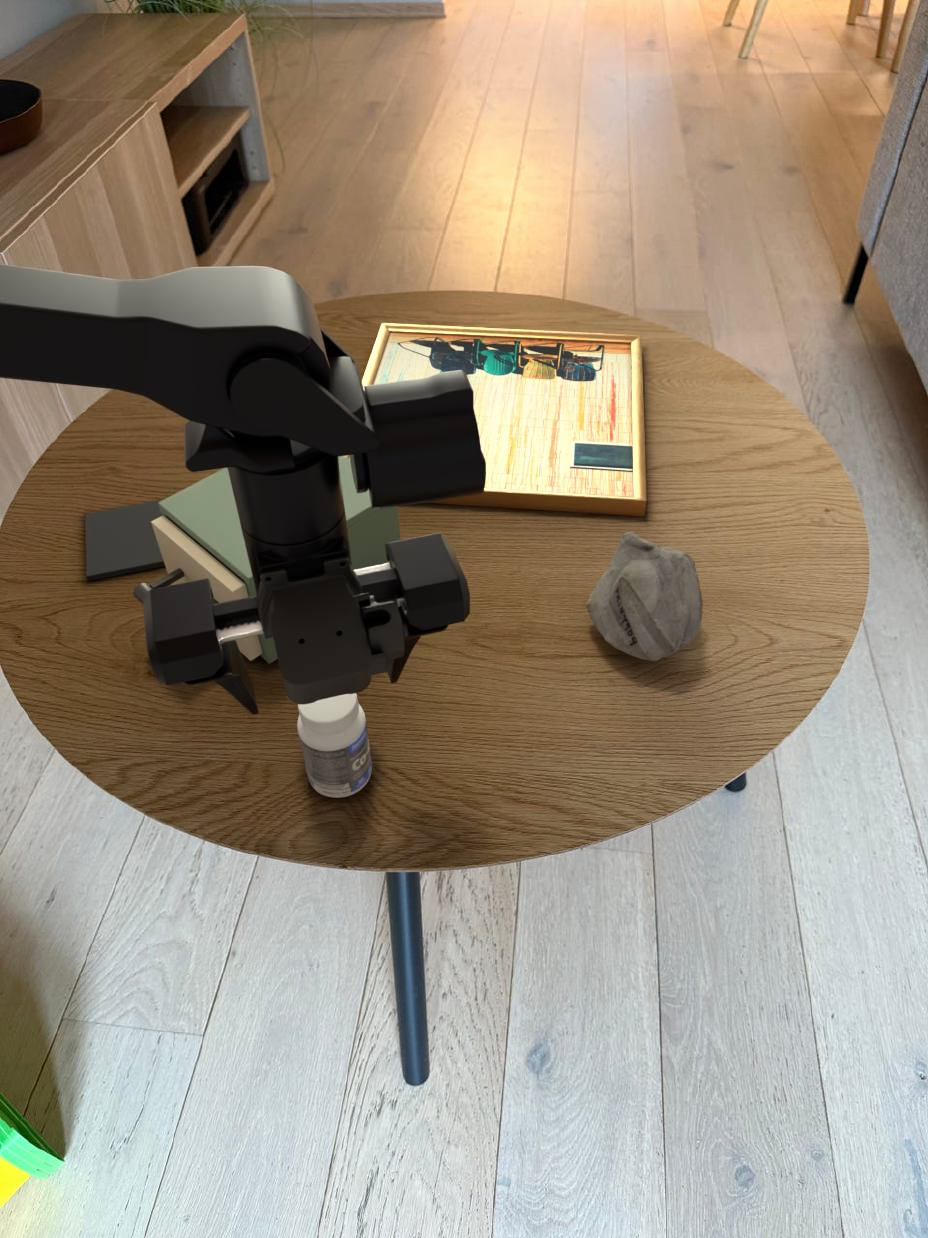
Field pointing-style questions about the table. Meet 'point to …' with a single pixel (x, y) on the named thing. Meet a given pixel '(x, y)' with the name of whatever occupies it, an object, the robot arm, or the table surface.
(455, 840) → the table surface
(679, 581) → the fossil
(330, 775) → the pill bottle
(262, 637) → the cabinet
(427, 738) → the table surface
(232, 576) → the drawer
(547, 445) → the picture frame
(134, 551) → the coaster
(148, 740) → the table surface
